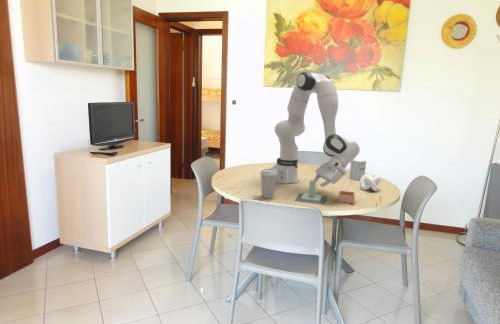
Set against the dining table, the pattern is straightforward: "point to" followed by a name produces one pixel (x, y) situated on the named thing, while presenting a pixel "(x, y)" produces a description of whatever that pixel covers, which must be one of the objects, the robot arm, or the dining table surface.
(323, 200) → the mat
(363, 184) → the white knot sculpture
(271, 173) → the coffee cup
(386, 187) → the dining table surface
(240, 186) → the dining table surface
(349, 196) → the open box
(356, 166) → the supplement box
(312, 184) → the lid
